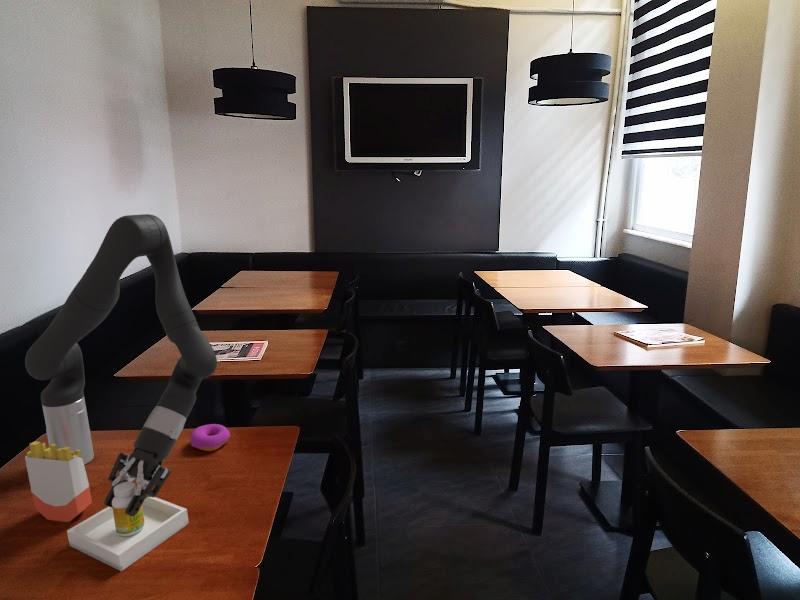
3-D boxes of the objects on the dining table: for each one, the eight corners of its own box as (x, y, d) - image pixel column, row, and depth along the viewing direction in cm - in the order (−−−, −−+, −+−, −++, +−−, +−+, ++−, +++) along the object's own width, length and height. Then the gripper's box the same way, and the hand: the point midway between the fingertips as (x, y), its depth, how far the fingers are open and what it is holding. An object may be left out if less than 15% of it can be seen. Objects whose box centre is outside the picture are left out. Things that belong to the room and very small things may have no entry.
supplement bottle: (133, 538, 112) (127, 494, 110) (110, 535, 113) (103, 492, 111) (150, 522, 117) (144, 480, 115) (127, 520, 118) (121, 478, 116)
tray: (69, 545, 112) (66, 530, 111) (138, 503, 126) (136, 489, 125) (121, 571, 104) (118, 555, 104) (188, 523, 118) (186, 509, 117)
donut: (213, 456, 146) (211, 440, 145) (182, 450, 150) (180, 434, 148) (237, 438, 155) (236, 423, 154) (208, 432, 159) (206, 418, 158)
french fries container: (53, 506, 125) (39, 433, 121) (95, 511, 123) (82, 437, 119) (36, 518, 121) (21, 443, 117) (79, 523, 119) (65, 447, 115)
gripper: (126, 419, 120) (82, 496, 112) (172, 433, 113) (128, 516, 106) (150, 431, 126) (109, 505, 118) (195, 445, 119) (155, 524, 112)
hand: (118, 510), depth 112 cm, fingers open, 6 cm apart
